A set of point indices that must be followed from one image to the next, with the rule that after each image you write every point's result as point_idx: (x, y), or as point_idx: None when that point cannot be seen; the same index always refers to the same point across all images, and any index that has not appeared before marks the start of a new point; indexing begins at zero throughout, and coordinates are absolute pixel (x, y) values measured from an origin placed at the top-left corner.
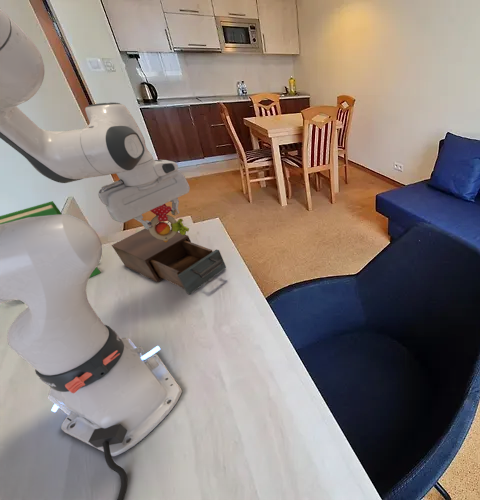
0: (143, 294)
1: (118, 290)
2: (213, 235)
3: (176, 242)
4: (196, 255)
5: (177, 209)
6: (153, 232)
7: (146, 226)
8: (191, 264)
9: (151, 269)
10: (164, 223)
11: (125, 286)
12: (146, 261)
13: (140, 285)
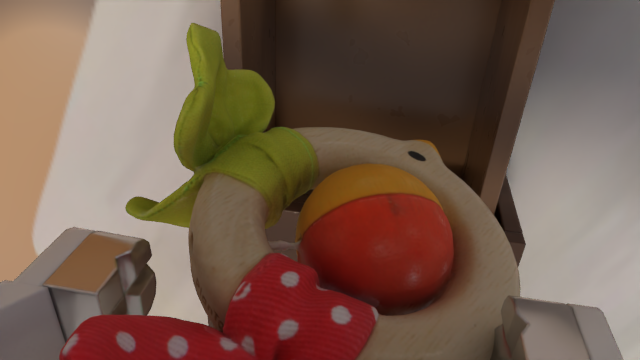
0: (602, 143)
1: (594, 279)
2: (91, 186)
3: (286, 209)
4: (270, 79)
5: (40, 268)
6: (503, 261)
7: (614, 346)
8: (336, 58)
9: (506, 195)
10: (337, 248)
11: (561, 273)
12: (517, 234)
13: (539, 215)
